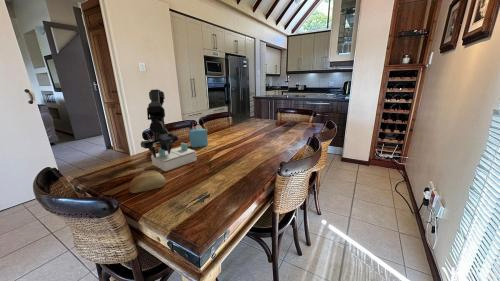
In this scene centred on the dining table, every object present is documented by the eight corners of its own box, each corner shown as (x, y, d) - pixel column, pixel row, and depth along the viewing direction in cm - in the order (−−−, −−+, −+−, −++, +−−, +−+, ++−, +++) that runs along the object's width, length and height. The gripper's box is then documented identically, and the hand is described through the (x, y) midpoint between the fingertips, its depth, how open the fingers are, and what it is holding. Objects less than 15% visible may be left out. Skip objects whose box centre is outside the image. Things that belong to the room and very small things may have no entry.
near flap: (151, 155, 119) (150, 148, 117) (167, 151, 126) (166, 144, 124) (164, 161, 110) (162, 153, 108) (180, 156, 117) (179, 149, 115)
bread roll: (129, 189, 94) (125, 173, 91) (164, 180, 101) (161, 165, 99) (130, 199, 86) (127, 181, 84) (168, 188, 94) (166, 172, 91)
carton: (152, 164, 120) (151, 156, 119) (183, 154, 135) (182, 147, 133) (165, 171, 111) (164, 162, 109) (196, 160, 125) (196, 152, 124)
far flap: (168, 151, 126) (167, 144, 125) (182, 147, 133) (181, 140, 132) (181, 156, 117) (180, 148, 116) (195, 151, 124) (194, 144, 123)
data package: (207, 144, 156) (205, 128, 153) (207, 145, 152) (206, 129, 149) (190, 145, 153) (188, 130, 149) (191, 147, 149) (189, 131, 145)
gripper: (147, 134, 100) (152, 164, 104) (181, 127, 113) (185, 154, 118) (137, 131, 107) (142, 159, 111) (171, 124, 120) (174, 150, 125)
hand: (162, 155), depth 116 cm, fingers open, 8 cm apart
